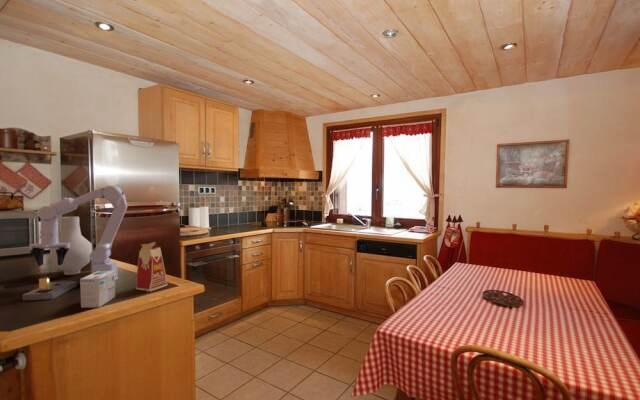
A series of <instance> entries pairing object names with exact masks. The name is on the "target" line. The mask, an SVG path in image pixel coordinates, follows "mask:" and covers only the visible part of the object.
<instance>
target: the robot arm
mask: <svg viewBox="0 0 640 400" xmlns="http://www.w3.org/2000/svg"><path fill="white" fill-rule="evenodd" d="M61 199H62V200H60V201H56V202H51V203H49V205H43V206H42V207H40V208H39V209H38V211H37V216H38V218H40V243H31V244H29V245H28V246H29V249H28V250H30V251H29V252H30V253H31V254H32V256H33V257H34V259H35V261H36V263H37V266H38V267H40V266H42V265H44V253H45V250H46V249H50V248H59V249H56V253H57V257H58V265H62V264H63V261H64V258H65V255H66V253H67V251H68V250H69V248H70V243H58V239H59V223H58V218H59V216H63V215H65V214H67V213H70V212H72V211H75V210H77V209H78V206H80V205H82V204H85V203H87V202H91V201H94V200H95V199H105V200H107V201H108V202H109V203H110V205H111V206H112V207H113V209H112V212H111V214H110V216H109V219H108V221H107V223H106V226H105V228H104V230H103V233H102V235H101V237H100V239H99V241H98V243H97V245H96V247H95V248H94V250H92V252H91V254H90V263H91V266H90V267H91V274H93V273H94V272H97V271H115V281H116V280H118V279H119V277H118V264H117V262H116V261H111V258H110V256H112V255H111V254H112V246H113V241H114V239H115V237H116V235H117V232H118V229H119V228H120V225H121V223H122V221H123V218H124V216H125V214H126V212H127V209H128V203H127V199H126V194H125V192H124V190H123V189H122V188H121V187H120V186H118V185H108V186H104V187H100V188H98V189H95V190H91V191H89V192H87V193H84V194H82V195H80V196H77V197H75V198H73V197H63V198H61Z"/></svg>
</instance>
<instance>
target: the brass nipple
mask: <svg viewBox="0 0 640 400" xmlns="http://www.w3.org/2000/svg"><path fill="white" fill-rule="evenodd" d="M50 279H51V278H50V277H42V278H39V279H38V284H39V285H38V286H39V287H38V288H39V291H40V293H44V292H49V291H50V282H51V280H50Z"/></svg>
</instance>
